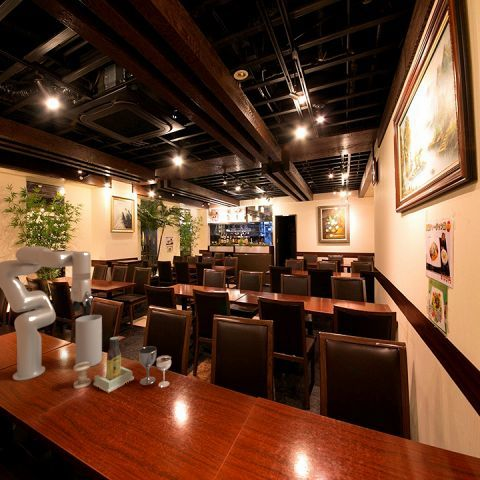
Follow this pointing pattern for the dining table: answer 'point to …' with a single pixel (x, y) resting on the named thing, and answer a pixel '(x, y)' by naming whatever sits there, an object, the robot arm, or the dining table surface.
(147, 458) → the dining table surface
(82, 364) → the bobbin
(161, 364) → the wineglass
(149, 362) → the wine glass
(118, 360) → the sauce bottle
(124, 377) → the notched board
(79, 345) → the cylinder vase
